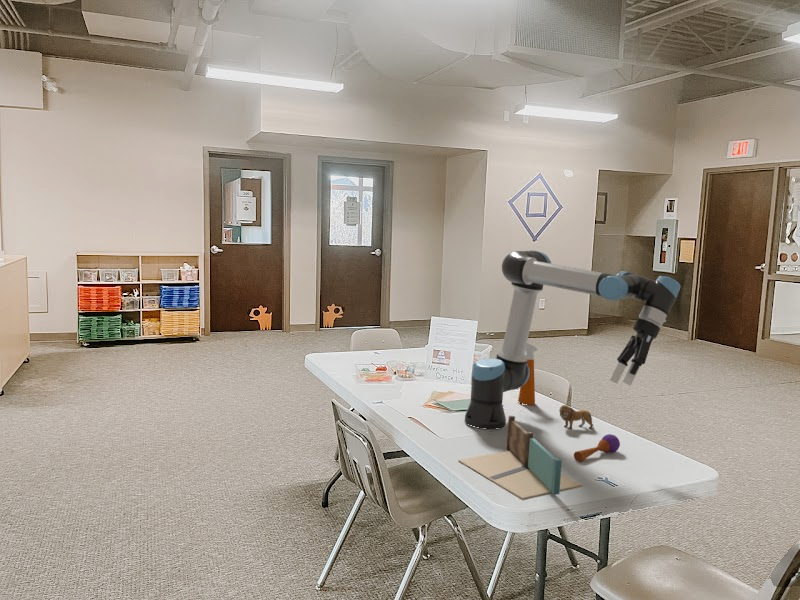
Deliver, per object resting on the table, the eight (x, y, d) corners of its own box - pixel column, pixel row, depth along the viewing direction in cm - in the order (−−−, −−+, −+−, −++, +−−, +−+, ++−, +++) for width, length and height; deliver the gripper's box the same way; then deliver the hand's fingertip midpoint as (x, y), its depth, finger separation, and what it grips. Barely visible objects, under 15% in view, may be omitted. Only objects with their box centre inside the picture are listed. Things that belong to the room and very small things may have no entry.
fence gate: (526, 466, 191) (529, 436, 190) (532, 466, 192) (534, 436, 191) (553, 494, 172) (555, 460, 171) (559, 494, 173) (561, 460, 171)
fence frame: (505, 447, 210) (507, 415, 209) (511, 447, 211) (513, 415, 209) (525, 469, 192) (528, 434, 191) (532, 469, 192) (534, 434, 191)
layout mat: (458, 461, 196) (458, 459, 196) (513, 451, 207) (513, 449, 207) (522, 499, 171) (522, 497, 171) (581, 485, 182) (581, 484, 181)
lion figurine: (562, 431, 230) (564, 407, 229) (554, 426, 235) (556, 403, 234) (597, 429, 235) (599, 405, 234) (588, 424, 240) (590, 401, 239)
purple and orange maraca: (569, 446, 203) (606, 431, 215) (571, 464, 203) (609, 448, 215) (584, 448, 199) (622, 433, 210) (587, 467, 199) (624, 451, 211)
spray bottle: (506, 401, 266) (510, 340, 263) (529, 400, 270) (533, 339, 267) (515, 406, 260) (519, 343, 257) (538, 405, 264) (542, 342, 261)
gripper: (675, 326, 189) (643, 390, 188) (646, 329, 214) (618, 386, 213) (652, 315, 190) (620, 378, 188) (626, 319, 214) (598, 375, 213)
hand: (619, 382), depth 200 cm, fingers open, 13 cm apart
